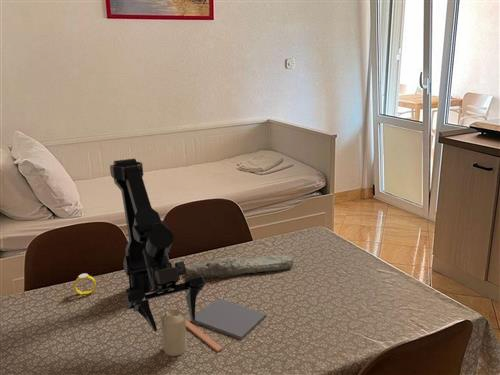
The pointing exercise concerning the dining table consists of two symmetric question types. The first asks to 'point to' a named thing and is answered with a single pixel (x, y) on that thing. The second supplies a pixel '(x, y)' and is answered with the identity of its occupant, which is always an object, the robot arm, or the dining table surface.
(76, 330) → the dining table surface
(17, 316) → the dining table surface
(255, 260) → the long grey stone
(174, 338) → the candle
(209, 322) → the mat
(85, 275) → the gold diamond ring
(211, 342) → the orange curved strip
